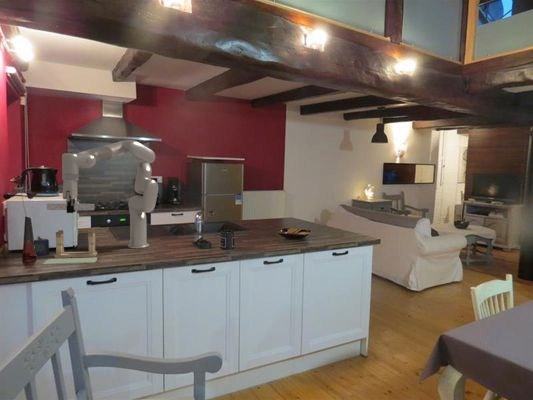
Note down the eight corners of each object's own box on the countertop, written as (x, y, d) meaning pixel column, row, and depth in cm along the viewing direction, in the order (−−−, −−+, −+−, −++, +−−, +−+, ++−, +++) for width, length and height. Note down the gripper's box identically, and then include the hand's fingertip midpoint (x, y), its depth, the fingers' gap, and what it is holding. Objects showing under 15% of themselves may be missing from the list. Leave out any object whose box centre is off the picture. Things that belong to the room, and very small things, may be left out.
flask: (29, 257, 198) (28, 237, 197) (29, 255, 201) (29, 236, 200) (49, 255, 202) (48, 236, 201) (49, 254, 205) (49, 235, 204)
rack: (57, 255, 204) (57, 230, 202) (97, 253, 209) (96, 229, 207) (54, 258, 198) (53, 232, 196) (94, 256, 203) (94, 231, 202)
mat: (48, 260, 194) (48, 259, 194) (97, 258, 200) (97, 257, 200) (42, 265, 185) (42, 263, 185) (94, 263, 191) (94, 262, 191)
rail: (48, 209, 192) (48, 203, 191) (94, 209, 197) (94, 203, 197) (46, 209, 189) (46, 204, 189) (93, 210, 194) (93, 204, 194)
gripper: (67, 176, 198) (67, 210, 200) (57, 177, 182) (58, 214, 184) (82, 176, 200) (82, 210, 202) (74, 178, 184) (74, 214, 186)
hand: (71, 212), depth 193 cm, fingers closed on rail, 3 cm apart
